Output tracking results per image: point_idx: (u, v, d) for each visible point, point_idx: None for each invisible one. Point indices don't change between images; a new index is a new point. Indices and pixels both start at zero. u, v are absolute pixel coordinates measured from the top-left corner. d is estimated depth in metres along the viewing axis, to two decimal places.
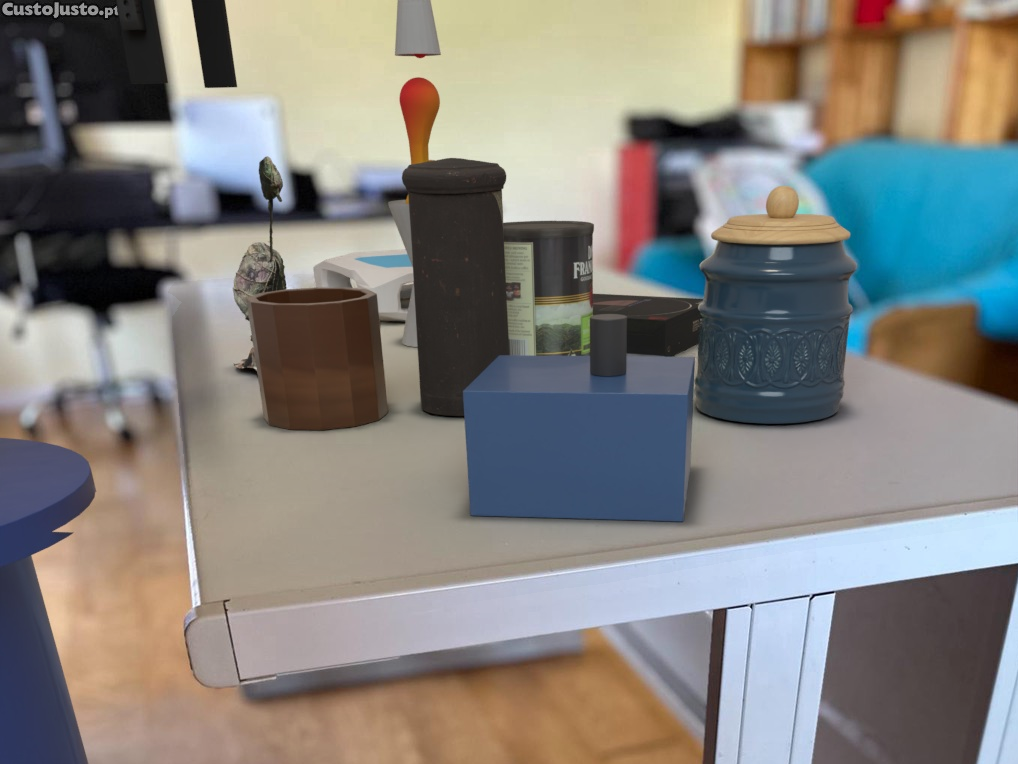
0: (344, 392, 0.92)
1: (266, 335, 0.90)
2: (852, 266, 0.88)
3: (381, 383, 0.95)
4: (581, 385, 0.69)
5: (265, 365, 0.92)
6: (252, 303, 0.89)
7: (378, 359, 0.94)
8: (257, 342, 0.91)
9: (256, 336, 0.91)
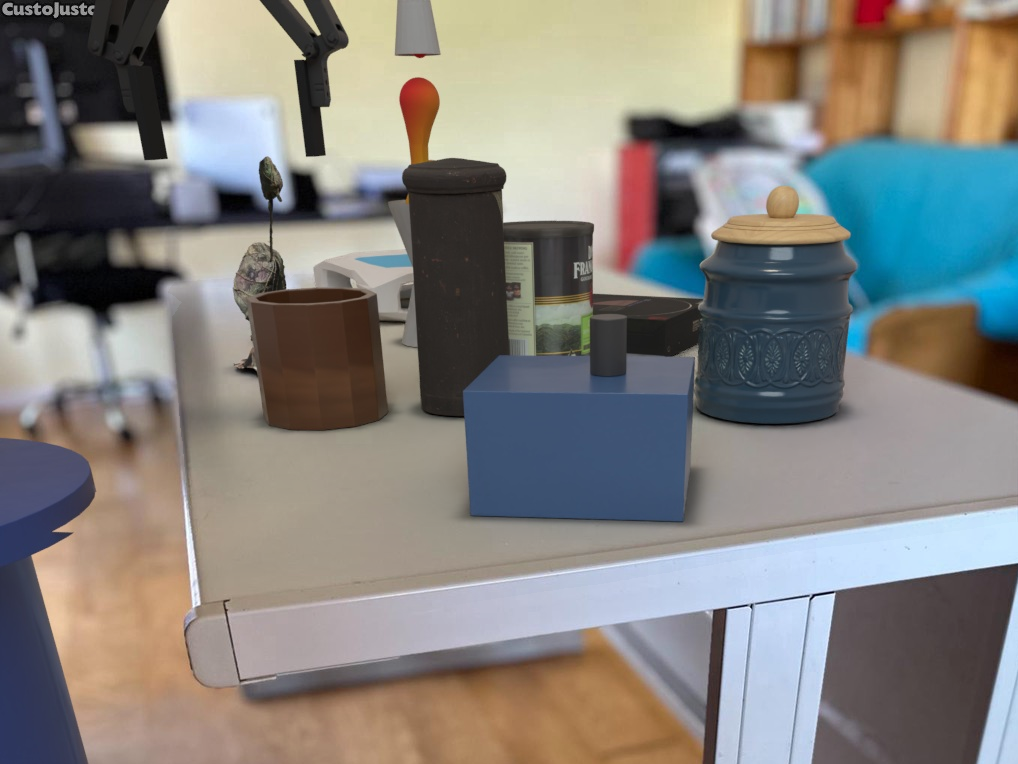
0: (344, 392, 0.92)
1: (266, 335, 0.90)
2: (852, 266, 0.88)
3: (381, 383, 0.95)
4: (581, 385, 0.69)
5: (265, 365, 0.92)
6: (252, 303, 0.89)
7: (378, 359, 0.94)
8: (257, 342, 0.91)
9: (256, 336, 0.91)
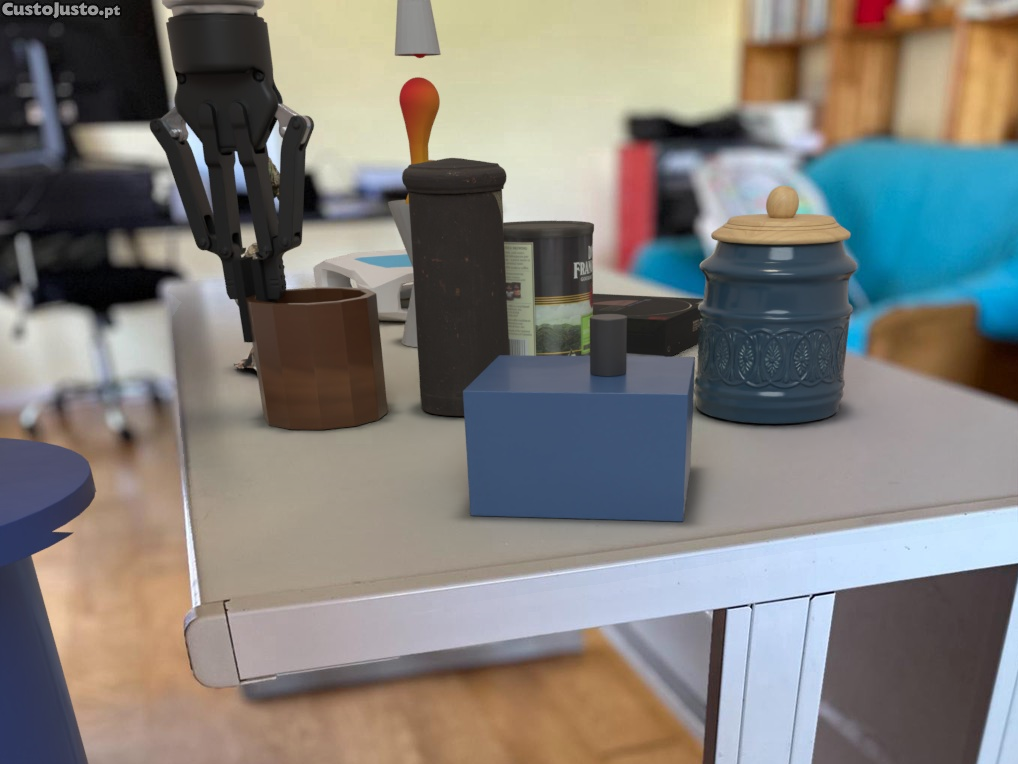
0: (344, 392, 0.92)
1: (266, 335, 0.90)
2: (852, 266, 0.88)
3: (381, 383, 0.95)
4: (581, 385, 0.69)
5: (265, 365, 0.92)
6: (251, 303, 0.89)
7: (378, 359, 0.94)
8: (257, 342, 0.91)
9: (256, 336, 0.91)
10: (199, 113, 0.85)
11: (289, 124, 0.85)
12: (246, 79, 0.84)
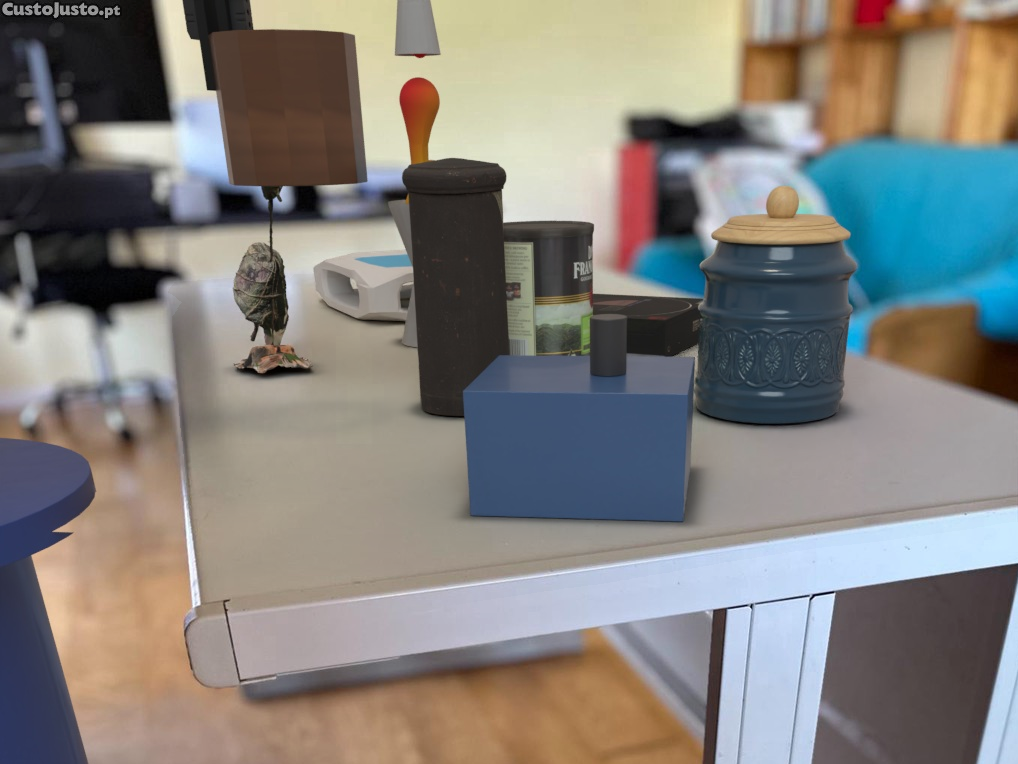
0: (318, 142, 0.82)
1: (230, 71, 0.80)
2: (852, 266, 0.88)
3: (360, 142, 0.86)
4: (581, 385, 0.69)
5: (229, 110, 0.82)
6: (214, 33, 0.80)
7: (356, 113, 0.85)
8: (220, 82, 0.81)
9: (219, 75, 0.81)
10: None
11: None
12: None
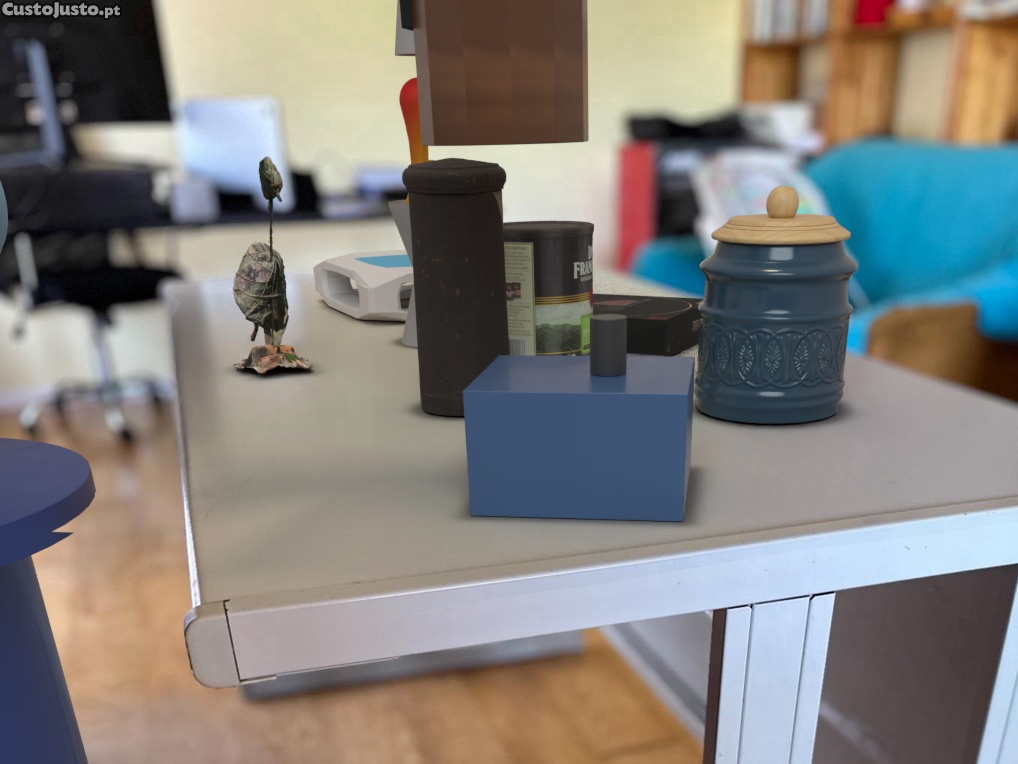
0: (546, 88, 0.66)
1: None
2: (852, 266, 0.88)
3: (586, 91, 0.69)
4: (581, 385, 0.69)
5: (436, 49, 0.65)
6: None
7: (585, 54, 0.68)
8: (426, 15, 0.65)
9: (425, 5, 0.65)
10: None
11: None
12: None
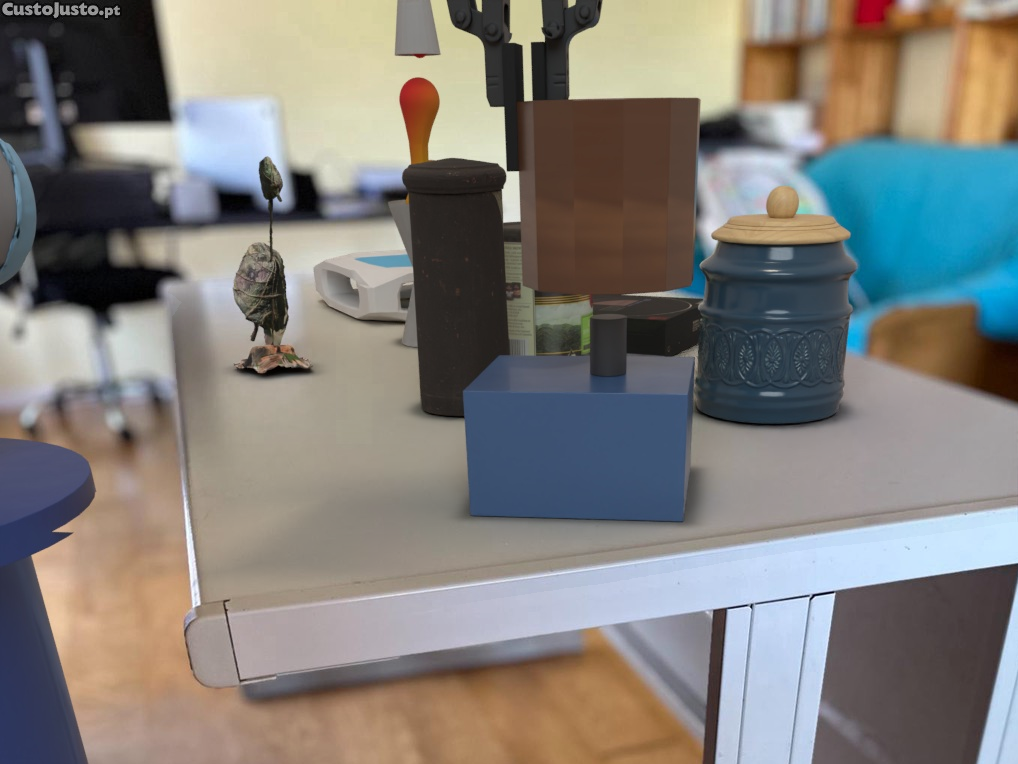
0: (658, 239, 0.64)
1: (553, 150, 0.62)
2: (852, 266, 0.88)
3: (694, 234, 0.67)
4: (581, 385, 0.69)
5: (545, 198, 0.63)
6: (535, 102, 0.61)
7: (695, 197, 0.66)
8: (535, 164, 0.63)
9: (535, 154, 0.63)
10: None
11: None
12: None
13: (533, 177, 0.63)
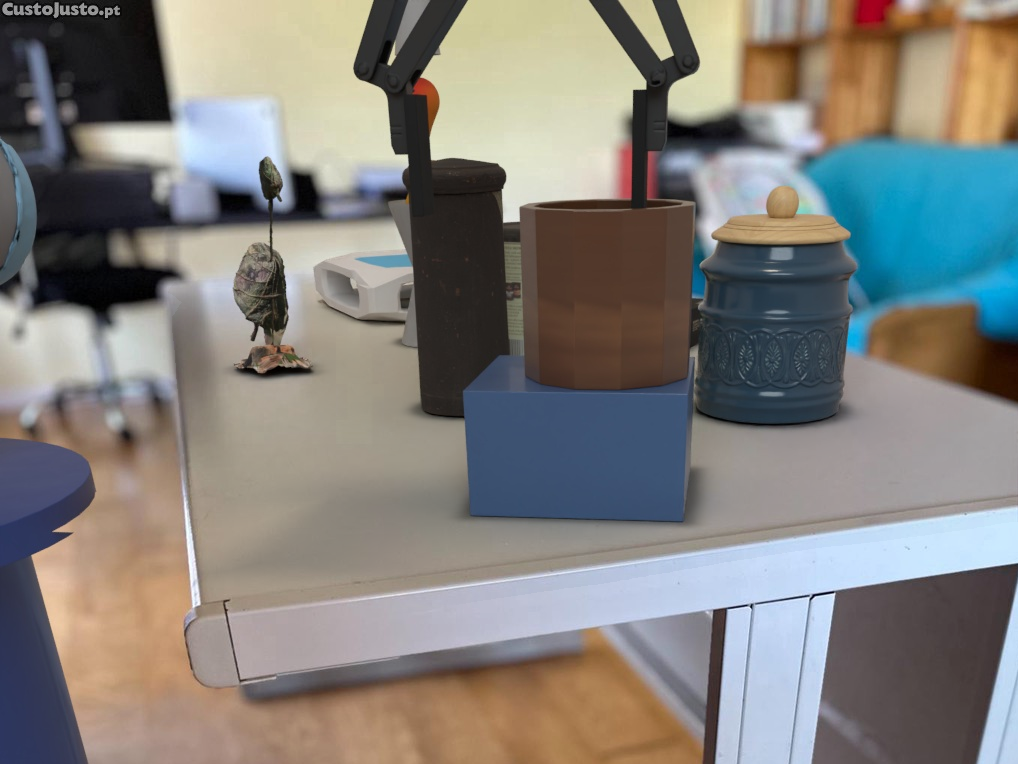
0: (655, 338, 0.66)
1: (555, 256, 0.64)
2: (852, 266, 0.88)
3: None
4: None
5: (546, 299, 0.66)
6: (537, 210, 0.64)
7: (691, 295, 0.69)
8: (537, 267, 0.66)
9: (537, 258, 0.65)
10: None
11: None
12: None
13: (535, 279, 0.66)
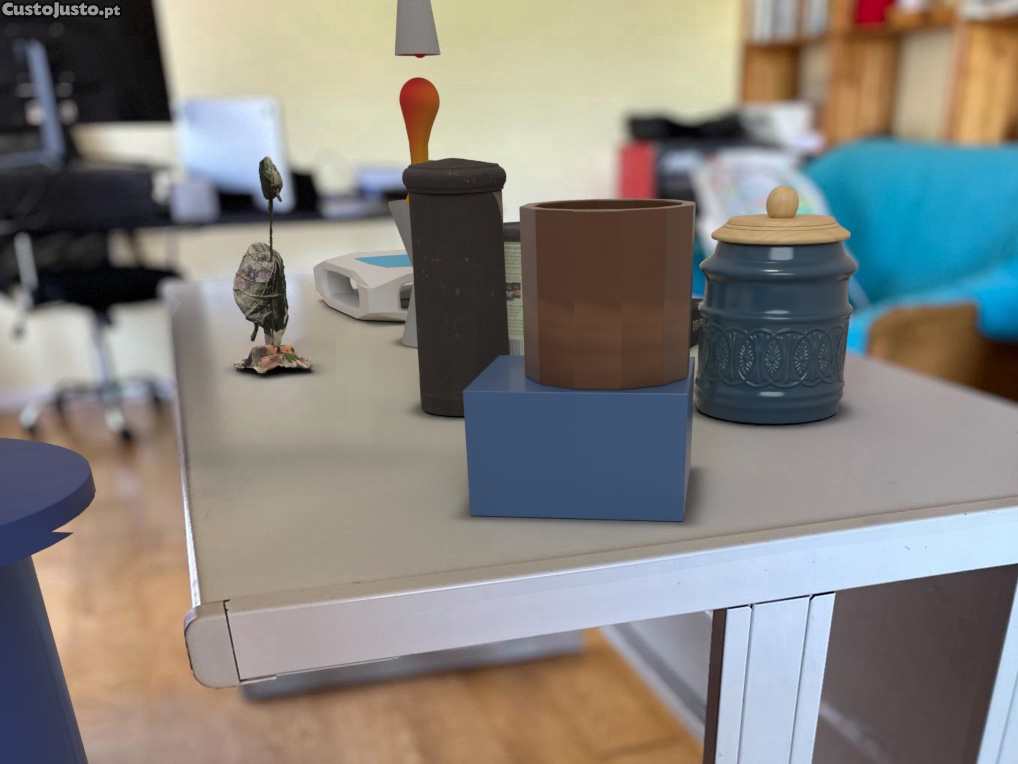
0: (655, 338, 0.66)
1: (555, 256, 0.64)
2: (852, 266, 0.88)
3: None
4: None
5: (546, 299, 0.66)
6: (537, 210, 0.64)
7: (691, 295, 0.69)
8: (537, 267, 0.66)
9: (537, 258, 0.65)
10: None
11: None
12: None
13: (535, 279, 0.66)
